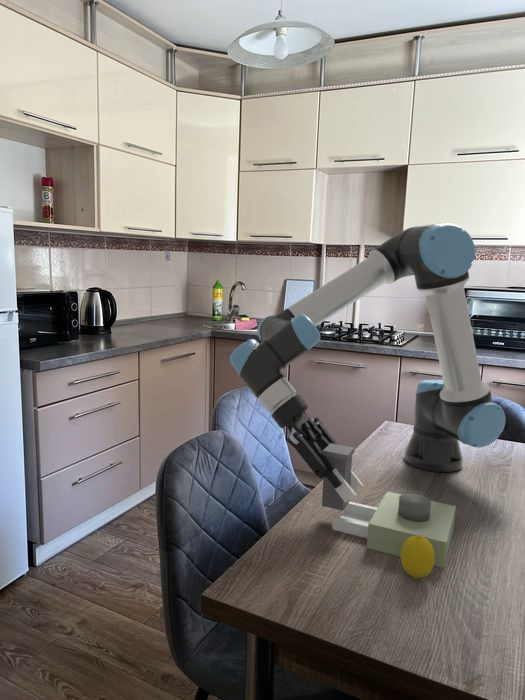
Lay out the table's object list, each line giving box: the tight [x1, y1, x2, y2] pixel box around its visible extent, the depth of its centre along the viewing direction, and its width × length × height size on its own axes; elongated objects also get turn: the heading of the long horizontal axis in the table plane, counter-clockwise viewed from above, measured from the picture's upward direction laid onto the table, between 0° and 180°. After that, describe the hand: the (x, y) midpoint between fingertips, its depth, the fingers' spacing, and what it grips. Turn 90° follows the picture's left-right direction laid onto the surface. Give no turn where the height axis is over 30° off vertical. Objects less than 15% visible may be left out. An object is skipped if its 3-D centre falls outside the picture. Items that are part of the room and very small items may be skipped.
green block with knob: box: [331, 491, 457, 569], centre depth 104 cm, size 22×16×8 cm
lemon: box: [400, 535, 435, 580], centre depth 89 cm, size 6×6×8 cm
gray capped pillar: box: [321, 443, 356, 512], centre depth 108 cm, size 5×5×12 cm
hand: (354, 493), depth 107 cm, fingers closed on gray capped pillar, 4 cm apart
